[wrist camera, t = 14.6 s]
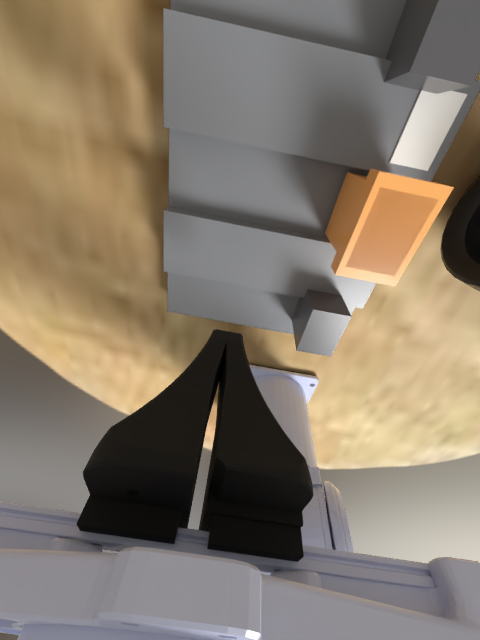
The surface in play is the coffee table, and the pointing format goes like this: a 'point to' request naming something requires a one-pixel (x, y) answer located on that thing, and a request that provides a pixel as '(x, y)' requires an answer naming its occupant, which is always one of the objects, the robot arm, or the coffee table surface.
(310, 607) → the robot arm
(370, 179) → the handle
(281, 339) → the coffee table surface
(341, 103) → the box
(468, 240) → the muzzle brake
